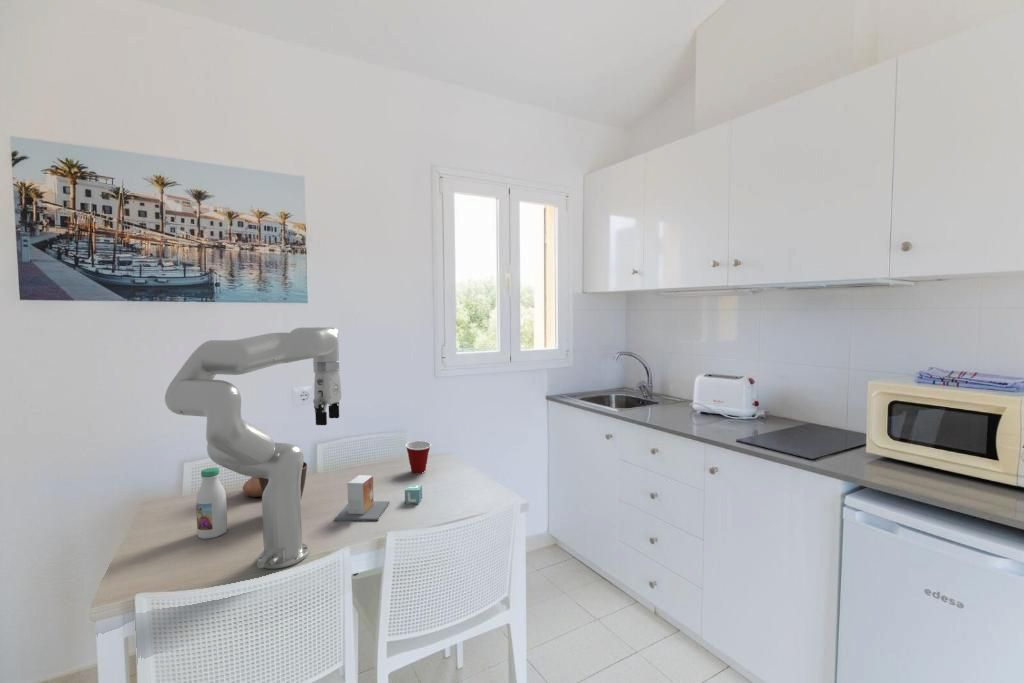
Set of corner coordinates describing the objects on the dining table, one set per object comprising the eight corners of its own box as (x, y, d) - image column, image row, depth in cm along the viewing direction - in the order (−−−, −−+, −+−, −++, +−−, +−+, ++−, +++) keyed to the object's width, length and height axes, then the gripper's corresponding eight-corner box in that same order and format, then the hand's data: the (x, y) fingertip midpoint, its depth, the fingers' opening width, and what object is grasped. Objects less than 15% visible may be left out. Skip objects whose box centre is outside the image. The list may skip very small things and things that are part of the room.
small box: (363, 514, 155) (362, 483, 154) (347, 514, 156) (346, 482, 155) (374, 505, 163) (373, 475, 162) (359, 504, 163) (358, 474, 163)
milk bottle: (222, 525, 149) (219, 463, 148) (231, 532, 144) (229, 468, 143) (193, 534, 143) (191, 470, 142) (202, 542, 138) (200, 475, 137)
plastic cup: (414, 477, 192) (413, 449, 192) (401, 471, 200) (400, 443, 200) (436, 471, 200) (436, 444, 199) (423, 465, 207) (422, 439, 207)
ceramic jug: (292, 494, 175) (291, 456, 174) (248, 504, 166) (247, 464, 165) (279, 482, 189) (278, 447, 188) (238, 491, 179) (236, 454, 179)
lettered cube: (419, 504, 166) (418, 489, 165) (404, 504, 166) (404, 489, 165) (422, 498, 171) (421, 484, 170) (408, 498, 171) (408, 484, 171)
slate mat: (377, 520, 152) (377, 518, 152) (334, 520, 152) (334, 518, 152) (389, 503, 166) (389, 501, 166) (350, 503, 166) (350, 501, 166)
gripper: (327, 370, 138) (328, 427, 139) (348, 364, 155) (349, 415, 156) (301, 370, 138) (303, 428, 139) (325, 364, 155) (327, 415, 156)
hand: (327, 421), depth 147 cm, fingers open, 9 cm apart
